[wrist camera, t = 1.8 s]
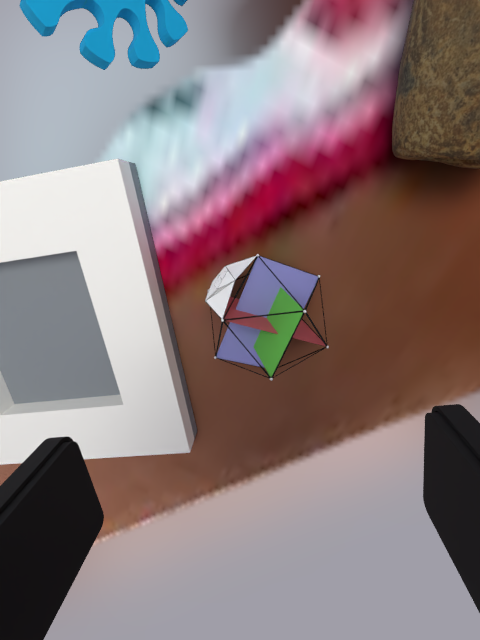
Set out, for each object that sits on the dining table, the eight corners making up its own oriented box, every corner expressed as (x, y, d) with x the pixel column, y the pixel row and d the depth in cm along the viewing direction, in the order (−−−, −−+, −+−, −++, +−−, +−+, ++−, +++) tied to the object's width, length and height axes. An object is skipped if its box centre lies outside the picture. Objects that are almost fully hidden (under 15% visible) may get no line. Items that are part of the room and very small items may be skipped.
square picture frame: (135, 163, 21) (117, 158, 18) (197, 430, 27) (190, 452, 25) (-108, 210, 23) (-151, 210, 21) (1, 444, 29) (-23, 465, 27)
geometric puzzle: (370, 295, 20) (307, 291, 14) (319, 387, 22) (245, 418, 16) (280, 249, 24) (199, 230, 18) (245, 331, 26) (162, 340, 20)
